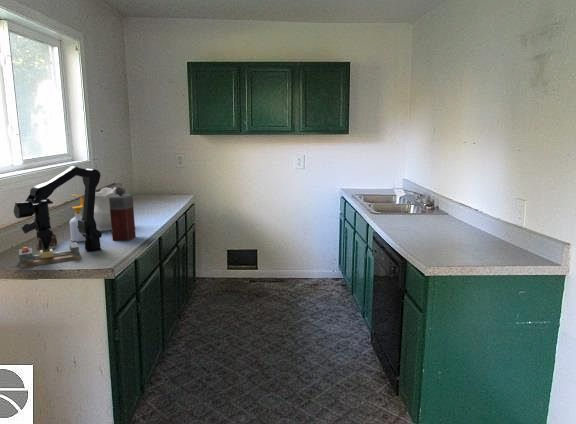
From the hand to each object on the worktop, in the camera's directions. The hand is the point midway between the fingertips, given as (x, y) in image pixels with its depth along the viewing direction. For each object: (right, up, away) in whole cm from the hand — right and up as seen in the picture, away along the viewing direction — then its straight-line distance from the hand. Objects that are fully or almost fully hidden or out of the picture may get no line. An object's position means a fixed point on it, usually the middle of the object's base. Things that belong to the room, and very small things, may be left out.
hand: (46, 248), depth 202 cm
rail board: (+2, -5, +2) cm, 6 cm away
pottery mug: (-12, -1, +24) cm, 27 cm away
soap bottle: (-2, +2, +38) cm, 38 cm away
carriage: (0, -4, +1) cm, 4 cm away
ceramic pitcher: (+1, +6, +61) cm, 62 cm away
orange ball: (-7, -2, -4) cm, 8 cm away
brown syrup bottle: (+21, +2, +40) cm, 45 cm away
